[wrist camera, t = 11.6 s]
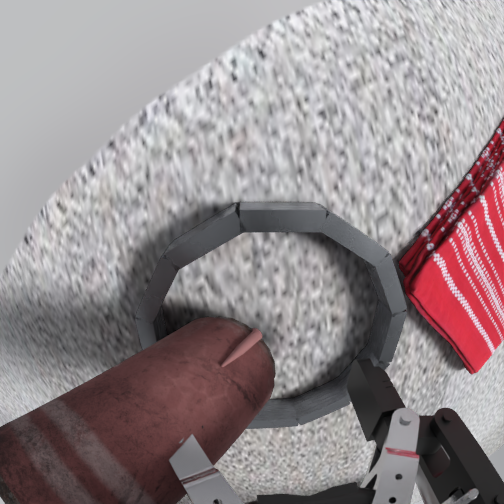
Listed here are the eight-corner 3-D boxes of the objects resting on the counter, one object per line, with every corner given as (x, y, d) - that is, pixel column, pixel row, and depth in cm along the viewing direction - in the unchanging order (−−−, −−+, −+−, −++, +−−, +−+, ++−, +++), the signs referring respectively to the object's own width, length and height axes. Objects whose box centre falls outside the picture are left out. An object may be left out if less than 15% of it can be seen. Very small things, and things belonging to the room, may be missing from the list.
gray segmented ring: (407, 206, 14) (426, 215, 13) (362, 397, 19) (369, 415, 18) (132, 205, 14) (117, 213, 12) (170, 405, 19) (166, 425, 17)
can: (-46, 434, 3) (236, 286, 14) (-12, 442, 6) (177, 337, 18) (109, 600, 2) (308, 378, 14) (75, 546, 5) (234, 409, 17)
